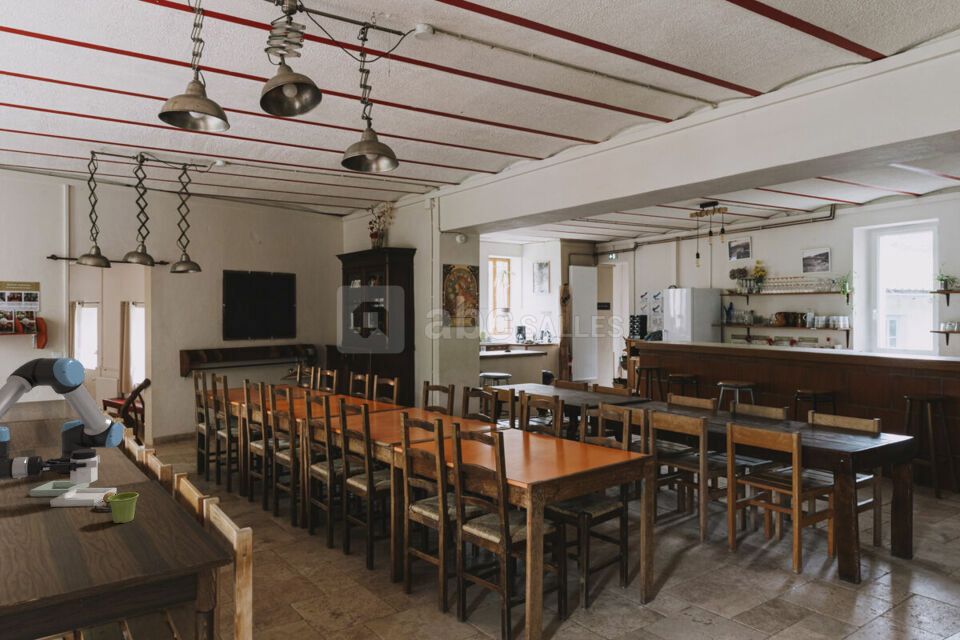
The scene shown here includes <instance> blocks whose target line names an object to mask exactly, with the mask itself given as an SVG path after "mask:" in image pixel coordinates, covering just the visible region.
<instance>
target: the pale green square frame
mask: <svg viewBox="0 0 960 640" xmlns="http://www.w3.org/2000/svg"><path fill="white" fill-rule="evenodd" d="M75 488H90V483H85V484H73V483H70V480H52V481H48V482H46V483H44V484H42V485H40V486H36V487H34V488H32V489H30V490H29V496H30V497H58V496H60V495H62V494H65V493H67V492H69V491H71V490H73V489H75Z"/></svg>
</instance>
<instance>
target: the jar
mask: <svg viewBox="0 0 960 640" xmlns="http://www.w3.org/2000/svg"><path fill="white" fill-rule="evenodd" d="M97 456H98V455H97V449H96V448H91V449H81V450H76V451H73V452H72V459H70V462H76V464H77V462H78V461H91V460H97V467H95V468H83V469H77V468H76V471H70V473H69V474H70V475H69V476H70V478H69V479H70V480H69V481H70V483H73V484H85V483H89V484H91V483H94V482H96V481H97V480H98V479H99V478H98V468H99V466H98V457H97Z"/></svg>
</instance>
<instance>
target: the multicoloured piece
mask: <svg viewBox="0 0 960 640" xmlns="http://www.w3.org/2000/svg"><path fill="white" fill-rule="evenodd" d="M105 492H106V491H105ZM113 495H114V492H109V493H107V494H105V495H104V497H103V500H104V501H103V502H100V503H98V504H96V505H95V506H94V511H95V512H99V513H112V509H111V504H110V502H109V500H108V497H110V496H113Z"/></svg>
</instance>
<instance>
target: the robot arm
mask: <svg viewBox="0 0 960 640" xmlns="http://www.w3.org/2000/svg"><path fill="white" fill-rule="evenodd" d="M85 377H86V373H85V367H84V364H82V363H81V362H80V361H79V359H78V360H77V359H76V358H71V357H70V358H69V357H61V358H60V357H54V358H53V357H48V358H47V357H39V358H34V359H31V360H29V361H27V362H25V363H24V364H22V365H20V366H19V367H18V368H17V369H15V370H14V371H13V372H11V373H10V375H9V376H8V377H7V378H6V383H5V384H4V385H3V386H1V387H0V420H1V419H3V417H4V416H5V415H6V414H7V413H8V412H9V411H10V410H11V408H12V407H13V406H14V405H15V404H17V402H18V401H19V400H20V399H21V398H22V396H24V394H28V393H30V392H31V391H32V389H34V388H36V387H39V386H42V387H45V386H46V387H51V389H53V391H54V392H55V393H56V394H58V395H62V397H63V398H64V399H65V400H66V403H68V405H69V406H70V407H71V409H72V410H73V412H74V413H75V414H76V416H77V417H78V419H77V420H76V419H75V420H71V421H68V422H64V423H62V426H61V455H60V457H59V458H57V457H56V458H49V459H47V460H44V461H43V457H42V456H40V455H34V456H33V455H32V456H30V457H28V456H20V457H10V444H11V443H10V442H11V441H10V439H11V436H10V429H9V427H7V426H2V425H1V426H0V480H8V479H9V480H10V479H16V478H17V480H22V478H27V477H30V478H32V477H40V476H41V475H42V473H51V472H52V473H53V472H57V473H60V474H70V471H76V468H77V469H83V468H95V467H97V460H91V461H78V462H77V464H76V462H70V459H72V452H73V451H76V450H81V449H96V448H97V449H98V448H99V449H110V448H111V449H114V448H116V447H118V446H119V445H120V443H121V442H122V440H123V438H124V431H125V428H124V425H123V424H122V423H121V422H114V421H113V419H112V418H111V417H110V415H107V414H104V413H103V412H102V410H101V408H100V407H99V405H98V404H97V403H96V401H95V400H94V398H93V397H92V395H91V394H90V393H89V391H88V390H87V388H86V386H85V385H84V384H83V383H84V380H85ZM96 456H97V457H98V463H101V455H96Z"/></svg>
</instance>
